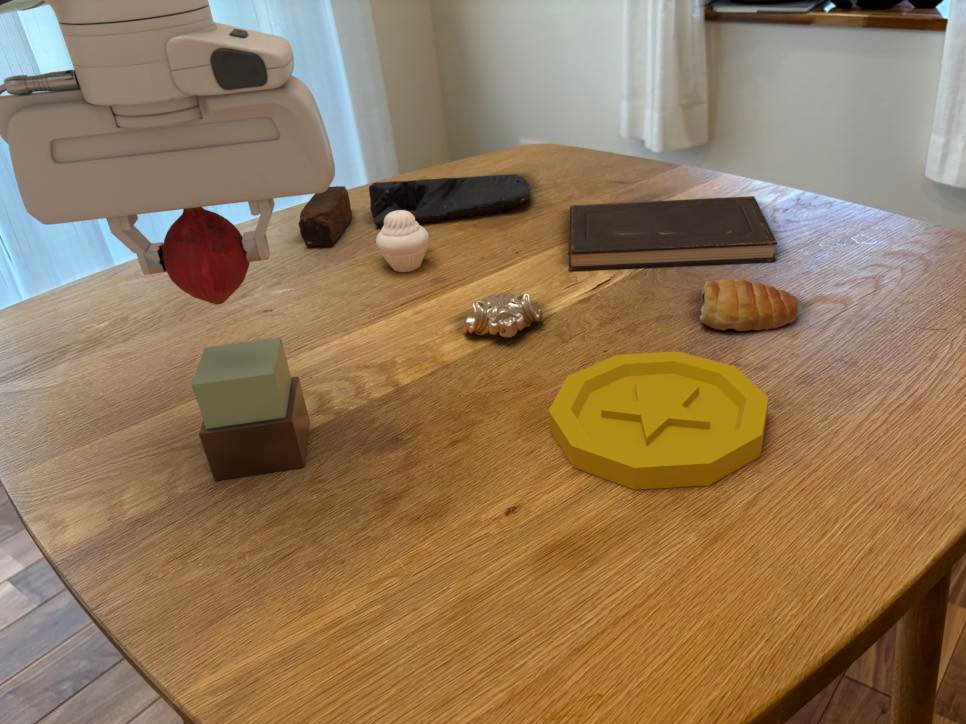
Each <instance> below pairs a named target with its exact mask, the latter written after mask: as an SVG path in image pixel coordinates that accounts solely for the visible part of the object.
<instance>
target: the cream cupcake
mask: <svg viewBox="0 0 966 724" xmlns="http://www.w3.org/2000/svg"><path fill="white" fill-rule="evenodd" d="M410 212H411V211H409V210H406V211H405V210H397V211H393V212H390V213H389V214H387V215H386V216H385V219H384V226H381V230H380V231H379V232H378V234H377V236H376V238H375V245H376V247H377V249H379V252H380V254H381V255H382V257H383V259H384V260H385V261H386V262H387V263H388V265H389V266H390V267H391V268H392V269H393V271H395V272H398V273H410V272H414V271H416V270H418V269H419V268H420V267H421V266H422V263H423V260H424V257H425V255H426V252H427V250H428V246H429V245H428V243H429V241H430V235H429V232H428V231H427V229H426V228H424V227H423V226H422V225H420V223H418V222H417V221H415V217H414V216H413V214H411V213H410Z"/></svg>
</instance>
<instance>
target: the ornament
mask: <svg viewBox="0 0 966 724" xmlns="http://www.w3.org/2000/svg"><path fill="white" fill-rule="evenodd" d="M471 305H472V308H471V310H469V313H468V314H467V316H466V319H465V321H464V323H463V326H462V331H463V333H464V334H468V333H469V334H474V333H475V335H477V336H480V337H481V336H485V335H486V334H488V333H489V334H490V335H493V336H496V335H498V334H499V336H500V337H502V338H512V337H514V336H516V335H517V334H518V332H521V331H522V330H523V329H525V328H528V329H529V328H530V327H531V326H532V323H539V322H540V321H542V320H543V318H544V314H543V310H542V309H541V308H539V309H538V310H535V309H534V308H533V305H532V300H531V296H530V294H529V293H527V292H526V293H517V294H515V295H514V294H512V293H503V292H500V293H498V294H490V295H488V296H487V297H483V298H482V299H480V300H479V299H477V300H475V301H473V302H472V304H471Z"/></svg>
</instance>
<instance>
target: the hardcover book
mask: <svg viewBox="0 0 966 724" xmlns="http://www.w3.org/2000/svg"><path fill="white" fill-rule="evenodd" d="M568 221H569V225H568V240H567V241H568V242H567V243H568V245H567V255H568V256H569V257H568V271H570V272H573V271H593V270H594V271H595V270H596V271H597V270H617V269H637V268H639V269H640V268H659V267H660V268H663V267H682V266H683V267H684V266H704V265H705V266H707V265H727V264H729V265H730V264H750V263H751V264H752V263H771V262H772V263H773V262H777V258H776V256H775V254H774V253H775V252H776V250H775V246H778V241H777V238H776V237H775V235H774V233H773V231H772V229H771V226H770V225H769V223H768V221H767V219H766V217H765V215H764V213H763V211H762V209H761V207H760V205H759V203H758V201H757V199H756V197H755V196H754V195H749V196H748V195H747V196H727V197H710V198H709V197H707V198H693V199H692V198H691V199H690V198H689V199H688V198H686V199H670V200H650V201H630V202H610V203H591V204H589V203H588V204H573V205H572V204H571V205H570V207H569V220H568Z"/></svg>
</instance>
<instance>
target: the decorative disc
mask: <svg viewBox="0 0 966 724" xmlns="http://www.w3.org/2000/svg"><path fill="white" fill-rule="evenodd" d="M769 398H770V397H769V396H768V395H767V394H766V393H765V392H764V391H763V390H762V389H760V388H759V387H758V386H757V385H756V384H755V383H754V382H753V381H752V380H751V379H750V378H749V377H747V376H746V375H745V374H744V373H743V372H742V371H741V370H739V368H738V367H736V366H735V365H733V364H727V363H725V362H724V363H723V362H720V361H716V360H713V359H708V358H705V357H701V356H697V355H692V354H688V353H685V352H681V351H679V350H678V351H677V350H676V351H661V352H660V351H659V352H645V353H630V354H628V353H627V354H616V355H613V356H611V357H608V358H606V359H604V360H602V361H599V362H597V363H595V364H593V365H591V366H588V367H585V368H583V369H581V370H579V371H576V372H574V373H572V374H570V375H567V376H566V378H565V380H564V381H563V384H562V386H561V387H560V389H559V391H558V393H557V395H556V396H555V398H554V400H553V402H552V404H551V405H550V407H549V409H548V419H549V421H548V422H549V431H550V433H551V435H552V436H553V438H554V439H555V441H556V443H557V445H558V446H559V448H560V449H561V451H562V452H563V454H564V455H565V457H566V458H567V460H568V462H569V464H570V465H571V466H572V468H573V469H576V470H579V471H582V472H585V473H588V474H590V475H592V476H596V477H599V478H601V479H604V480H607V481H609V482H613V483H614V484H618V485H621V486H623V487H625V488H628V489H632V490H634V491H637V490H655V489H671V488H672V489H675V488H689V487H706V486H707V487H708V486H711V485H713V484H714V483H717V482H718V481H720V480H721V479H723V478H725V477H727V476H729V475H730V474H732V473H733V472H735V471H737V470H739V469H740V468H743V467H744V466H746V465H748V464H750V463H751V462H753V461H755V460H756V459H759V458H760V457H761V455H762V454H761V453H762V449H763V442H764V436H765V430H766V425H767V420H768V411H769V410H768V407H769Z"/></svg>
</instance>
